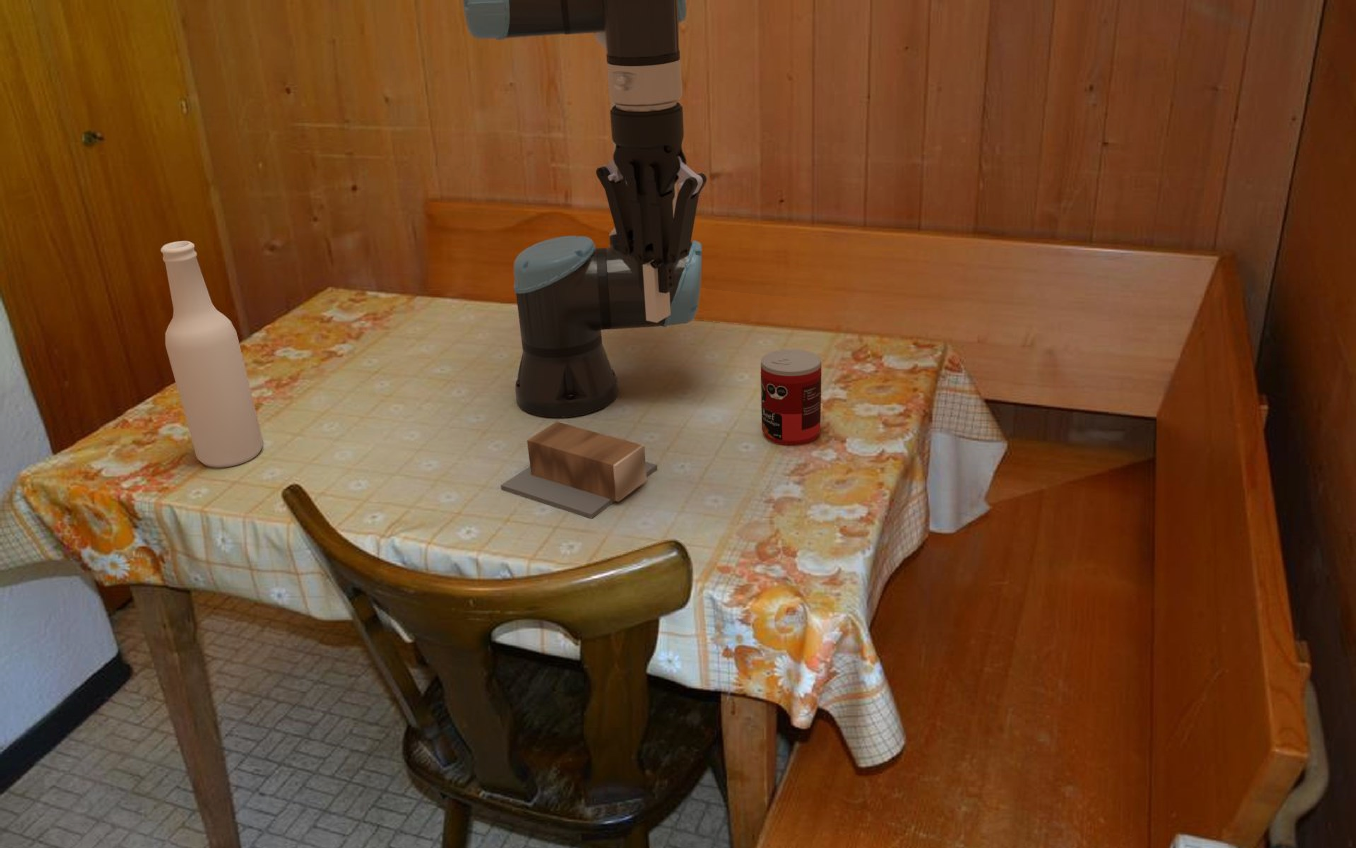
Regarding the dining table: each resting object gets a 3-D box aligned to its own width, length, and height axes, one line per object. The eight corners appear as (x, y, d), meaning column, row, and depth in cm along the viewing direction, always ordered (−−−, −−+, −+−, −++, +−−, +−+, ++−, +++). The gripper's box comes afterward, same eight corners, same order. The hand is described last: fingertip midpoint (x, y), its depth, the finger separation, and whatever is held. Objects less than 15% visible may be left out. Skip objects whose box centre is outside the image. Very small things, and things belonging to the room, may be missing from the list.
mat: (501, 489, 140) (500, 485, 139) (569, 444, 150) (569, 440, 150) (591, 518, 132) (591, 514, 132) (657, 468, 143) (657, 464, 142)
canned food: (757, 423, 153) (756, 350, 148) (814, 419, 153) (815, 346, 148) (766, 449, 146) (765, 373, 141) (825, 444, 147) (826, 368, 142)
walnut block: (618, 501, 134) (531, 474, 142) (646, 480, 139) (560, 455, 146) (615, 466, 132) (527, 440, 139) (644, 445, 137) (556, 421, 144)
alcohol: (269, 436, 157) (219, 231, 143) (259, 465, 149) (206, 251, 135) (204, 443, 155) (149, 238, 142) (191, 473, 148) (130, 259, 134)
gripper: (573, 105, 114) (592, 318, 124) (678, 115, 107) (688, 339, 118) (616, 92, 119) (631, 297, 130) (719, 100, 112) (725, 316, 123)
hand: (658, 317), depth 124 cm, fingers closed
